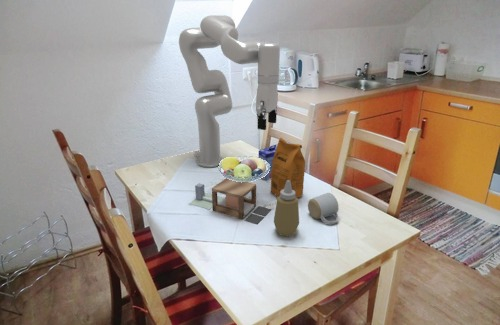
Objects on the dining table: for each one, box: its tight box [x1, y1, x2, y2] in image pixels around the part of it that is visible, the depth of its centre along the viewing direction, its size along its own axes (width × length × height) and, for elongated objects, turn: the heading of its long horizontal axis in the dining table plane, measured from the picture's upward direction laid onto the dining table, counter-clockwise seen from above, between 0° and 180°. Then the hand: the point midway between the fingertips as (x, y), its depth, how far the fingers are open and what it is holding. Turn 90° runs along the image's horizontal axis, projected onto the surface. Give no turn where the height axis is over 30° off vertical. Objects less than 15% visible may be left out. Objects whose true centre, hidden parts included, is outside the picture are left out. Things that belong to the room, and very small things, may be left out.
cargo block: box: [225, 194, 239, 209], centre depth 126 cm, size 4×4×4 cm
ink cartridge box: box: [258, 143, 278, 181], centre depth 151 cm, size 10×6×14 cm, turn 130°
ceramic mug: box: [307, 192, 339, 226], centre depth 120 cm, size 11×8×8 cm
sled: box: [194, 182, 254, 217], centre depth 128 cm, size 22×7×6 cm, turn 62°
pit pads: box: [243, 205, 272, 225], centre depth 123 cm, size 5×11×1 cm, turn 152°
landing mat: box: [188, 192, 225, 210], centre depth 132 cm, size 9×10×1 cm
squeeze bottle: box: [273, 180, 300, 237], centre depth 110 cm, size 8×8×18 cm
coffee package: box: [270, 137, 306, 198], centre depth 133 cm, size 10×12×22 cm
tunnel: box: [211, 177, 257, 220], centre depth 125 cm, size 12×10×9 cm
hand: (267, 125), depth 132 cm, fingers open, 9 cm apart
